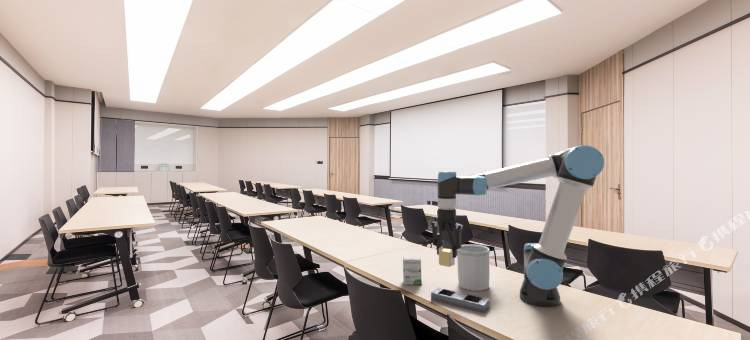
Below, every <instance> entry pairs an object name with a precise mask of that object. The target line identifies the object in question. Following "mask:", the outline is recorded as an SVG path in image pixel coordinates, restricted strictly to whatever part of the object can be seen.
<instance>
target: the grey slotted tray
mask: <svg viewBox="0 0 750 340" xmlns="http://www.w3.org/2000/svg"><path fill="white" fill-rule="evenodd" d="M430 300H431V301H434V300H435V302H438V303H442V304H447V305H449V306H450V305H451V306H453V307H457V308H463V309H466V310H471V311H474V312H478V313H482V314H484V313H485V312H487V310H488V309H489V308H490V304H491V303H490V302H491V301H490V298H488V297H483V296H477V295H474V294H470V293H469V294H468V293H465V292H461V291H456V290H452V289H447V288H445V287H444V288H443V287H439V286H438V287H437V288H435V289H434V290H432V291H431V292H430Z"/></svg>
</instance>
